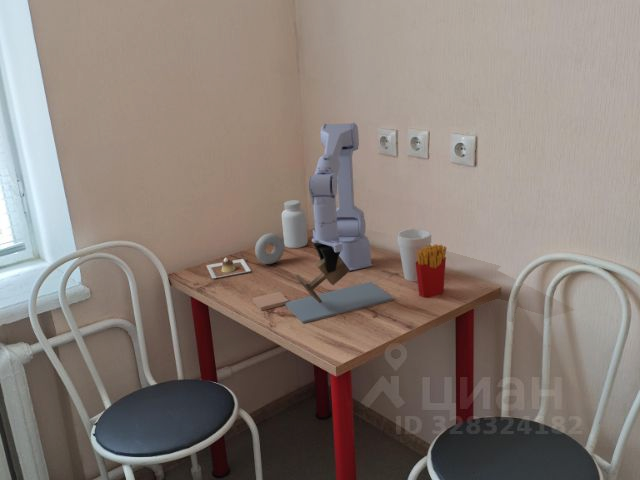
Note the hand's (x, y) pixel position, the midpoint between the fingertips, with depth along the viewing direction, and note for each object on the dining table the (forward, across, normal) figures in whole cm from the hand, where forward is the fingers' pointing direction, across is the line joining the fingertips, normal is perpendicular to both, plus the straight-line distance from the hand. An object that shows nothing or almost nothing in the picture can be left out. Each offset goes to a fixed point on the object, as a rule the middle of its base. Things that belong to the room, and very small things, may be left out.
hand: (329, 269), depth 170 cm
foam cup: (+10, -4, +28) cm, 30 cm away
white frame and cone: (+11, -41, -17) cm, 45 cm away
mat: (+10, 0, +2) cm, 10 cm away
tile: (+10, -10, -10) cm, 17 cm away
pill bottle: (+10, -50, +9) cm, 52 cm away
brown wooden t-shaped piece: (+4, 0, 0) cm, 4 cm away
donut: (+10, -38, -4) cm, 39 cm away
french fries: (+10, +8, +26) cm, 29 cm away
